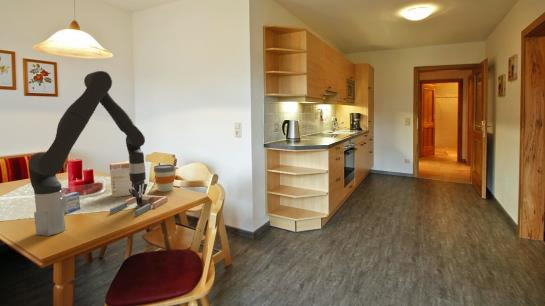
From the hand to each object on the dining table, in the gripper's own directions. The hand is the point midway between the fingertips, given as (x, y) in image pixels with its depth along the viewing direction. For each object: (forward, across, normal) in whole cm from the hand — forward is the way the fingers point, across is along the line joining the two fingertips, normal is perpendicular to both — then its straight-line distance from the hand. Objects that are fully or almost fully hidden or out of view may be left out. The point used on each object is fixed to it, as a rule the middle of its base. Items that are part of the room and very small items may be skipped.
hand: (139, 203), depth 163 cm
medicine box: (+2, -12, +30) cm, 33 cm away
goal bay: (+2, +6, 0) cm, 6 cm away
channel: (+2, -7, 0) cm, 7 cm away
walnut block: (+2, +5, 0) cm, 5 cm away
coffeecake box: (+2, +20, +22) cm, 30 cm away
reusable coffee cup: (+2, +35, +5) cm, 35 cm away
